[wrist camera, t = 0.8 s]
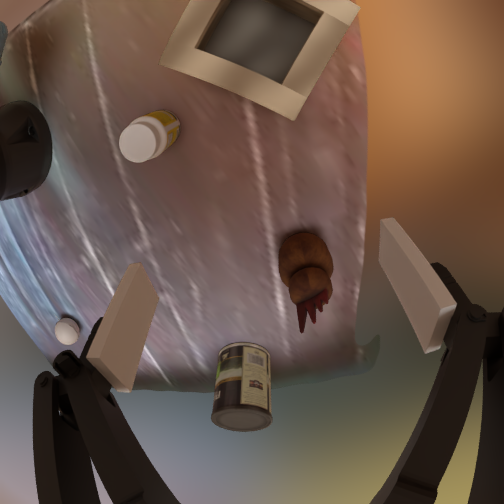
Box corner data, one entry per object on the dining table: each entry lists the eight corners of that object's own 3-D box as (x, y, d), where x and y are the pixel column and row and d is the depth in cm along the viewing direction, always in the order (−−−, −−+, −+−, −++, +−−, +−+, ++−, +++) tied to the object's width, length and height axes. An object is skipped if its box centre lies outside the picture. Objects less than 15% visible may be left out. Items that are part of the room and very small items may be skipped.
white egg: (87, 332, 53) (77, 352, 49) (67, 329, 54) (57, 347, 49) (74, 306, 49) (62, 326, 45) (54, 303, 49) (42, 322, 45)
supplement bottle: (139, 117, 31) (108, 129, 24) (174, 104, 30) (150, 111, 23) (152, 151, 34) (125, 172, 27) (186, 140, 33) (166, 158, 26)
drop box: (188, 68, 28) (157, 64, 19) (234, -15, 22) (224, -52, 13) (282, 109, 31) (293, 121, 21) (330, 27, 25) (360, 7, 16)
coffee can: (218, 370, 58) (212, 430, 46) (217, 340, 52) (209, 407, 40) (268, 373, 58) (269, 433, 46) (273, 343, 52) (276, 410, 40)
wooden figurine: (282, 266, 43) (290, 348, 30) (272, 233, 40) (278, 312, 27) (327, 256, 42) (351, 335, 29) (321, 221, 39) (349, 296, 26)
